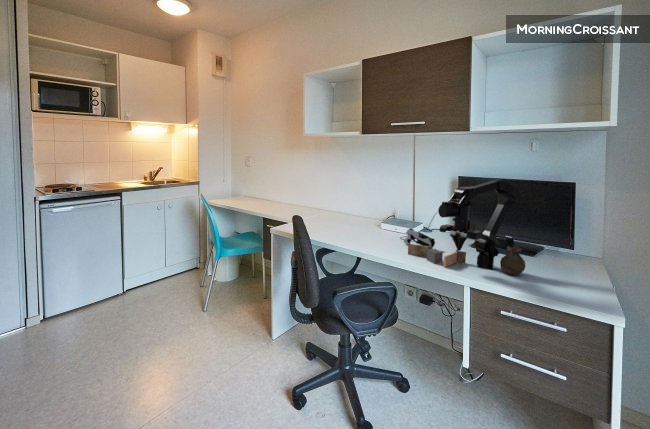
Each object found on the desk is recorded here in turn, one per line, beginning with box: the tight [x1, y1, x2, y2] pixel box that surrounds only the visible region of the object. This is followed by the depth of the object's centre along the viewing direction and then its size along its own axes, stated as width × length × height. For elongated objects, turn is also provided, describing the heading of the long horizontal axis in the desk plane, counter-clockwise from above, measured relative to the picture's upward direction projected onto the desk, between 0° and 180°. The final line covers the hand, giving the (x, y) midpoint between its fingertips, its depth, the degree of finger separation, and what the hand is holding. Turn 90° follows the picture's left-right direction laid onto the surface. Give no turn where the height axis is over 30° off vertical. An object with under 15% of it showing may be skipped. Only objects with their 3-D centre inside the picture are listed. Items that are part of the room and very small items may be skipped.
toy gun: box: [403, 228, 436, 249], centre depth 192 cm, size 2×17×10 cm, turn 51°
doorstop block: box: [426, 248, 444, 265], centre depth 167 cm, size 6×4×6 cm
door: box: [443, 251, 458, 268], centre depth 162 cm, size 11×1×5 cm, turn 134°
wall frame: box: [407, 243, 467, 264], centre depth 172 cm, size 28×2×6 cm, turn 59°
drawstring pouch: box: [499, 245, 526, 276], centre depth 150 cm, size 10×10×12 cm
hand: (459, 250), depth 154 cm, fingers closed
